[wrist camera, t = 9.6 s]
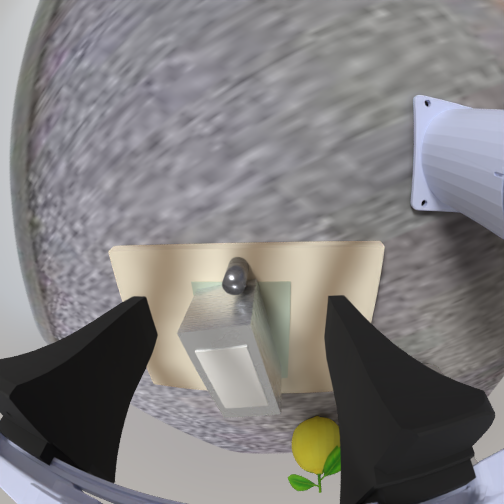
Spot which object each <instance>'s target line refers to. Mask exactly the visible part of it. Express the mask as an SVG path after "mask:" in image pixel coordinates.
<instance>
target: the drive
mask: <svg viewBox="0 0 504 504" xmlns="http://www.w3.org/2000/svg"><path fill="white" fill-rule="evenodd" d="M177 334H178V336H179V338H180V340H181V342H182V344H183V346H184V348H185V350H186V352H187V354H188V356H189V358H190V360H191V361H192V363H193V365H194V367H195V369H196V371H197V372H198V374H199V376H200V378H201V380H202V381H203V383H204V385H205V387H206V388H207V390H208V392H209V393H210V395H211V397H212V399H213V400H214V402H215V404H216V405H217V407H218V408H219V410H220V412H221V413H222V415H223V417H224V418H233V417H253V416H267V415H277V414H281V364H280V360H279V357H278V353H277V350H276V346H275V343H274V339H273V335H272V332H271V328H270V325H269V321H268V318H267V314H266V311H265V307H264V303H263V300H262V296H261V293H260V289H259V286H258V282H257V279H252V280H246V286H245V289H244V291H243V292H242V293H241V294H239V295H230V294H228V293H227V292H225V291H224V289H223V287H222V285H218V286H212V287H206V288H200V289H197V290H196V293H195V295H194V297H193V299H192V301H191V303H190V306H189V308H188V310H187V312H186V314H185V317H184V319H183V321H182V323H181V325H180V328H179V330H178V332H177Z"/></svg>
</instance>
